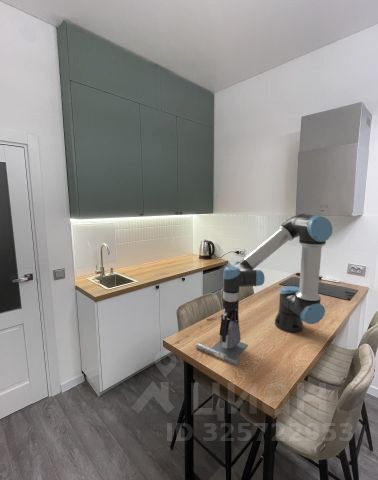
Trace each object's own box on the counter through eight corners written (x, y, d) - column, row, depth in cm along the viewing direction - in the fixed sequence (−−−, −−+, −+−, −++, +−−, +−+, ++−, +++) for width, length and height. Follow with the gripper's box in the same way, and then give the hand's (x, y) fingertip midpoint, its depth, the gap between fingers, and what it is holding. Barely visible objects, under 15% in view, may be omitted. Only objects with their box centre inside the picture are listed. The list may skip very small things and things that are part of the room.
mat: (247, 345, 124) (247, 344, 124) (234, 360, 112) (234, 360, 112) (224, 336, 132) (224, 335, 132) (209, 350, 120) (209, 349, 120)
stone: (227, 338, 129) (245, 339, 123) (219, 351, 121) (237, 352, 115) (219, 318, 127) (237, 318, 121) (211, 330, 119) (229, 330, 113)
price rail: (238, 363, 110) (238, 359, 110) (236, 366, 109) (237, 362, 108) (197, 346, 123) (197, 342, 122) (195, 348, 121) (195, 344, 121)
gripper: (233, 290, 128) (231, 330, 132) (212, 304, 111) (211, 350, 115) (247, 294, 124) (245, 335, 128) (227, 309, 107) (225, 356, 111)
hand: (229, 342), depth 121 cm, fingers closed on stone, 9 cm apart
